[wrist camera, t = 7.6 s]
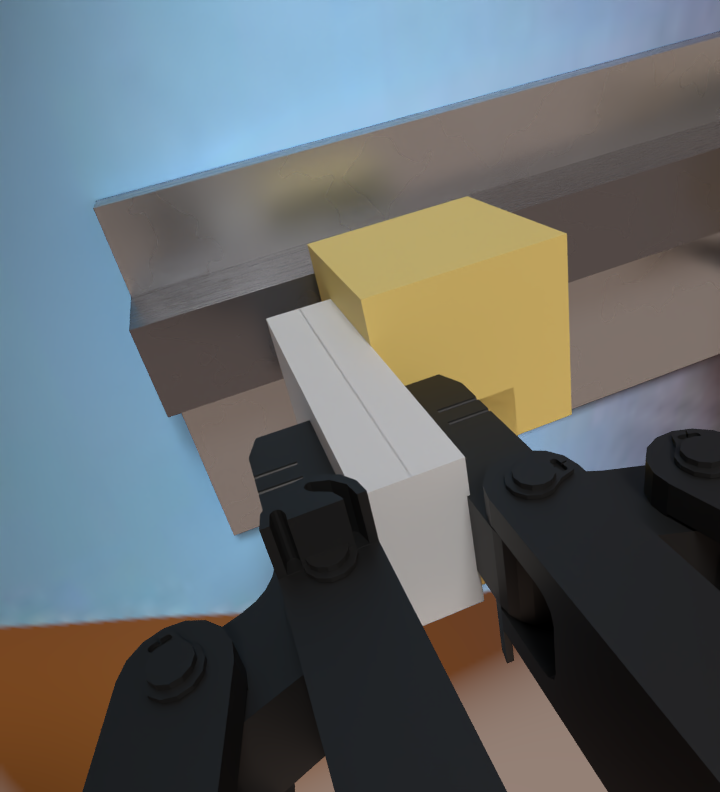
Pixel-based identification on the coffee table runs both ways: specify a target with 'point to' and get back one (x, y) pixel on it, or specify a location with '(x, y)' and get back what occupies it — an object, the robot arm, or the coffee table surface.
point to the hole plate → (422, 188)
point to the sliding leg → (461, 303)
